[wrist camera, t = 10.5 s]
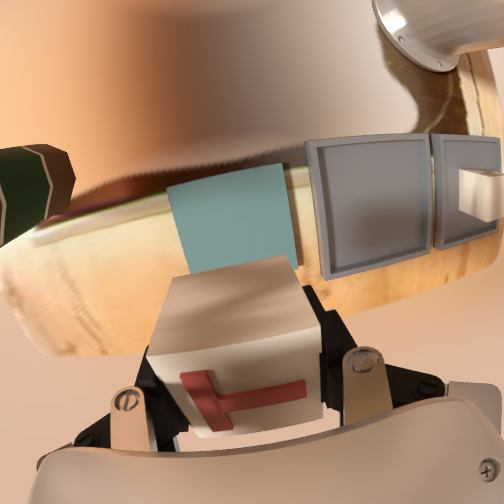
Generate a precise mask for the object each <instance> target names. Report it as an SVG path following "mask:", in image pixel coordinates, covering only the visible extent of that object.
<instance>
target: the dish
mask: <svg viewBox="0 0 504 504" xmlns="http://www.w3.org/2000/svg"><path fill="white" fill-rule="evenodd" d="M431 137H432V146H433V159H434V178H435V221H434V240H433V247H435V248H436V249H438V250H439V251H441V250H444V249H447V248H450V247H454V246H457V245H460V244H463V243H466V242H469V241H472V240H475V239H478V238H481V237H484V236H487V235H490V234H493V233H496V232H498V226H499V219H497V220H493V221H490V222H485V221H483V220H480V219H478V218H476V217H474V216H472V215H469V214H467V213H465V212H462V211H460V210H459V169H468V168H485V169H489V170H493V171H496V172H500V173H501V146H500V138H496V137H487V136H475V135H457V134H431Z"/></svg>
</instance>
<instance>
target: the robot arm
mask: <svg viewBox="0 0 504 504" xmlns="http://www.w3.org/2000/svg"><path fill="white" fill-rule="evenodd" d="M372 7H373V11H374V14H375V17H376V19H377V21H378V23H379V25H380V27H381V29H382V30H383V31H384V33H385V34H386V36H387V37H388V39H389V40H390V41H391V42H392V43H393V45H394V46H395V47H396V48H397V49H398V50H399V51H400V52H401V53H402V54H403V55H404V56H406V57H407V58H408V59H409V60H411V61H412V62H413V63H415V64H417V65H418V66H420V67H422V68H424V69H426V70H429V71H433V72H445V71H449V70H451V69H453V68H455V66H456V65H457V64H458V62H459V60H460V56H461V54H464V53H469V52H475V51H480V50H486V49H493V48H500V47H504V0H372ZM302 288H303V291H304V293H305V295H306V297H307V299H308V301H309V303H310V305H311V307H312V309H313V311H314V313H315V315H316V317H317V320H318V322H319V324H320V327H321V346H322V353H319V363H320V391H321V403H323V402H325V403H326V406H327V408H332V409H334V410H337V411H339V419H340V420H339V424H340V426H339V428H336V429H332V430H329V431H325V432H321V433H318V434H314V435H309V436H305V437H301V438H297V439H292V440H287V441H282V442H277V443H271V444H265V445H258V446H252V447H244V448H235V449H226V450H214V451H198V452H180V449H179V445H178V440H177V437H176V435H178V434H179V432H188V428H189V425H191V423H190V422H189V420H188V419H187V417H186V416H185V415H184V413H183V412H182V410H181V409H180V407H179V406H178V404H177V403H176V401H175V400H174V398H173V397H172V395H171V394H170V392H169V390H168V389H167V387H166V386H165V384H164V382H163V381H162V380H159V378H158V377H157V375H156V373H155V372H154V370H153V368H152V367H151V365H150V363H149V362H148V360H147V358H146V354H147V351H148V348H149V345H150V344H149V345H148V346H147V347H146V350H145V353H144V356H143V359H142V362H141V366H140V369H139V372H138V375H137V379H136V382H135V385H134V387H133V386H131V387H125V388H123V389H121V390H119V391H118V392H117V393H116V394H115V395H114V396H113V398H112V400H111V412H110V413H109V414H107V415H106V416H104V417H103V418H102V419H100V420H99V421H97V422H96V423H94V424H92V425H91V426H90V427H88V428H86V429H85V430H83V431H82V432H81V433H80V434H78V436H77V437H76V439H75V442H74V444H72V443H69V444H67V445H65V446H63V447H61V448H59V449H57V450H55V451H53V452H50V453H48V454H47V455H44V456H42V457H41V458H40V459H39V460H38V463H37V474H36V476H35V479H34V482H33V485H32V488H31V492H30V495H29V499H28V504H504V441H503V439H502V437H501V436H500V434H501V414H502V401H501V400H502V397H501V392H500V391H499V389H498V387H496V386H495V385H492V384H485V383H468V382H454V381H449V383H448V384H444V383H443V381H442V380H441V379H440V378H438V377H437V376H434V375H431V374H426V373H422V372H417V371H413V370H409V369H405V368H400V367H396V366H392V365H388V364H384V359H383V356H382V354H381V353H380V352H379V351H378V350H376V349H374V348H371V347H367V346H365V347H358V346H357V345H356V343H355V341H354V339H353V338H352V336H351V334H350V333H349V331H348V329H347V328H346V326H345V324H344V323H343V321H342V319H341V317H340V316H339V314H338V312H337V311H336V310H335V309H334V310H330V311H326V312H325V310H324V308H323V306H322V304H321V303H320V301H319V299H318V297H317V295H316V293H315V292H314V290H313V288H312V286H311V285H307V286H302ZM151 339H152V338H151ZM150 342H151V341H150Z"/></svg>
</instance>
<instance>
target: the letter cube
mask: <svg viewBox="0 0 504 504" xmlns="http://www.w3.org/2000/svg"><path fill="white" fill-rule="evenodd" d="M319 353H322V346H321V327H320V324H319V322H318V320H317V317H316V315H315V313H314V311H313V309H312V307H311V305H310V303H309V301H308V299H307V297H306V295H305V293H304V291H303V288H302V286H301V284H300V282H299V280H298V278H297V276H296V274H295V272H294V270H293V268H292V266H291V264H290V262H289V260H288V258H287V256H286V254H285V255H280V256H276V257H271V258H266V259H261V260H257V261H252V262H247V263H242V264H238V265H233V266H228V267H223V268H218V269H213V270H209V271H204V272H199V273H194V274H189V275H184V276H179V277H174V278H173V279H172V281H171V284H170V287H169V289H168V292H167V295H166V298H165V300H164V303H163V306H162V309H161V312H160V315H159V318H158V321H157V323H156V326H155V329H154V332H153V335H152V339H151V342H150V345H149V348H148V351H147V354H146V358H147V360H148V362H149V363H150V365H151V367H152V368H153V370H154V372H155V373H156V375H157V377H158V378H159V380H162V381H163V382H164V384H165V386H166V387H167V389H168V390H169V392H170V394H171V395H172V397H173V398H174V400H175V401H176V403H177V404H178V406H179V407H180V409H181V410H182V412H183V413H184V415H185V416H186V417H187V419H188V420H189V422H190V423H191V425H190V426H191V428H192V429H193V430H194V432H195V433H196V434H197V435H198V437H199V438H211V437H212V438H213V437H224V436H233V435H241V434H248V433H255V432H261V431H267V430H272V429H278V428H283V427H288V426H293V425H297V424H301V423H305V422H310V421H314V420H318V419H321V418H323V403H321V391H320V363H319Z"/></svg>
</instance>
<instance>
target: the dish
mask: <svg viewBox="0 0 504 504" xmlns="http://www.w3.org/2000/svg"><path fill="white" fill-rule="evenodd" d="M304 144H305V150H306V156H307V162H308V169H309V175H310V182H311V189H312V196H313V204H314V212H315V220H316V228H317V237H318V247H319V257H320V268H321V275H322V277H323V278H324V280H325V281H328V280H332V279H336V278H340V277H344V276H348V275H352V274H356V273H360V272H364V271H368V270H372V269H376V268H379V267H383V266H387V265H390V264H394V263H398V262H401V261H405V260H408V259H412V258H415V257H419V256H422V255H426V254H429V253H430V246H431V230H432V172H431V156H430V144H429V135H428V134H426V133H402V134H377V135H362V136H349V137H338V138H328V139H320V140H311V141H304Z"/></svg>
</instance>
